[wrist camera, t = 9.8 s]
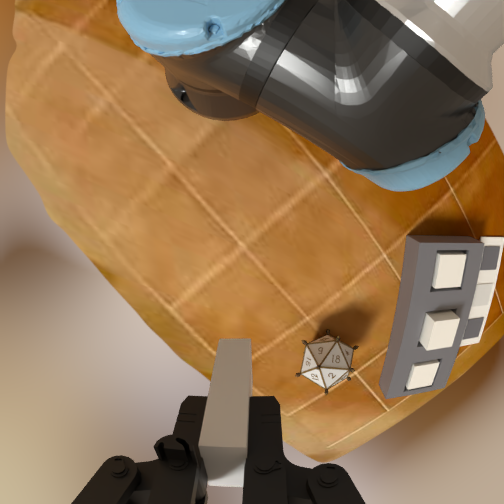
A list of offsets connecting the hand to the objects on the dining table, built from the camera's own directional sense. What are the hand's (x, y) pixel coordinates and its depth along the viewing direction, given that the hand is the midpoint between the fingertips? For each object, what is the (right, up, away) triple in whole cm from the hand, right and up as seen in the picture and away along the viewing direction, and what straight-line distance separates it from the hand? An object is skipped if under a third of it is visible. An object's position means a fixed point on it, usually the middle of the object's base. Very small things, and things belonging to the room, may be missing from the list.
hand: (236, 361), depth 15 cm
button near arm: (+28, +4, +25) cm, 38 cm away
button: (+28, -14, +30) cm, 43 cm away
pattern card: (+40, -2, +27) cm, 48 cm away
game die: (+11, -9, +30) cm, 33 cm away
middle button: (+28, -6, +26) cm, 38 cm away
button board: (+28, -5, +28) cm, 40 cm away
